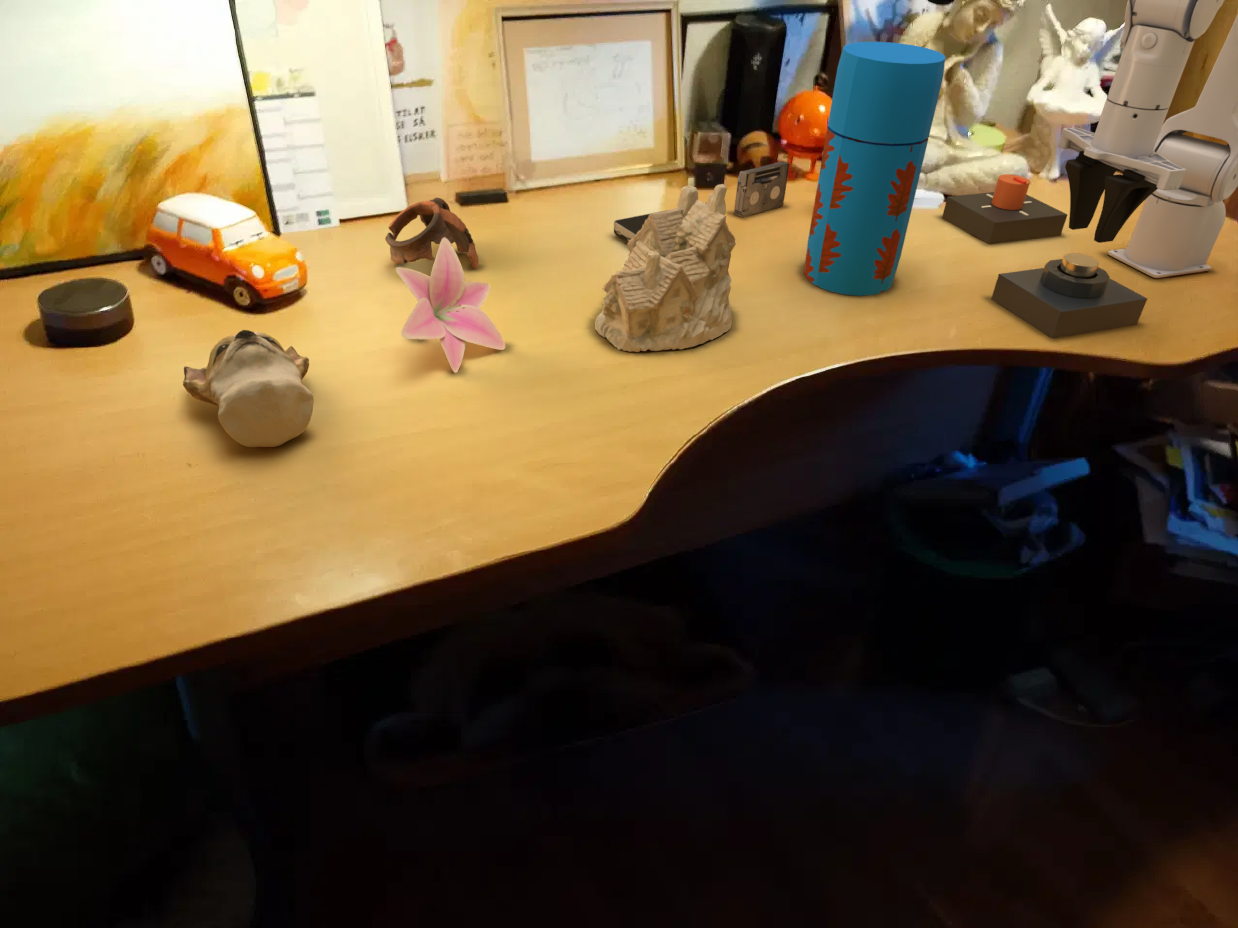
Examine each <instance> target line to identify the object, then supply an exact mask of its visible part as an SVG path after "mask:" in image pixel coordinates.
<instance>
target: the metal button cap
mask: <svg viewBox="0 0 1238 928" xmlns="http://www.w3.org/2000/svg"><path fill="white" fill-rule="evenodd" d="M1062 259H1063V260H1062V263H1061V266H1060V269H1059V271H1060V272H1062V273H1063V274H1065V275H1067V276H1071V277H1074V278H1081V279H1092V278H1094V275H1095V272H1096V270H1097V267H1099V265H1100V262H1099V261H1098V259H1096V258H1094V257H1093V256H1091V255H1088V254H1084V253H1077V252H1070V253H1066V254H1064V255H1063V256H1062Z"/></svg>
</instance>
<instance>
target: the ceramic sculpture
mask: <svg viewBox="0 0 1238 928" xmlns="http://www.w3.org/2000/svg"><path fill="white" fill-rule="evenodd" d="M309 368H310V358H309V357H308V356H302V355H300V354H299V353H298V352H297V351H296V349H295V347H293V345H290V346H289V347H287V349H284V347H283V346H282V344H281V343H280V341H278V340H277V339H276V338H275V337H273V336H272V335H269V334H267V333H265V332H260V331H252V330H249V329H242V330H240V331H238V332H237V333H236V334H232V335H228V336H226V337H222V338H221V339H220V340H219V341H217V343H216V344H215V345H214V346H213V347H212V349H211V350H210V354H209V357H208V362H207V365H206V366H205V367H202V368H194V367H190V366H184V367H183V375H184V379H183V380H182V386H183V388H184V389H185V391H186V392H187V393H188V394H189V395H191V397H193V398H194V399H195V400H199V401H201V402H204V403H208V404H211V405H213V406H216V407H218V412H217V419H218V422H219V424H220V425H221V426H222V428H223V430H224V431H225V432H226V433H227V435H228V436H230V438H231V439H233V440H234V441H235V442H236V443H238V444H240V445H241V446H244V447H247V448H258V447H260V448H275V447H279V446H282V445H283V444H285V443H287V442H289V441H290V440H292V439H294V438H296V437H298V436H300V435H301V434H303V433H304V432H305V431H306V429H307V427H308V425H309V424H310V422H311V418H312V415H313V411H314V400H315V399H314V395H313V392H312V391H310V390H309V388H308V387H307V386H305V385H304V384H303V381H302V380H303V379H304V378H305V376H306V375H307V373H308V371H309Z"/></svg>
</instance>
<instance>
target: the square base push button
mask: <svg viewBox="0 0 1238 928" xmlns="http://www.w3.org/2000/svg"><path fill="white" fill-rule="evenodd" d="M1062 260H1063V258H1057V259H1051V260H1049V261H1047V262H1046V263H1045V264H1044V267H1040V268H1039V267H1038V268H1033V269H1024V270H1017V271H1010V272H1009V271H1008V272H1003V273H998V275H997V279H996V282H995V286H994V288H993V292H992V295H991V298H990V300H991V301H993V302H994V303H996V304H998V305H999V306H1000V307H1002V308H1004V309H1005V310H1007V311H1008V312H1010V313H1011V314H1013V315H1014V316H1016V317H1018V318H1020V319H1021V320H1022V321H1024V322H1026V324H1029V325H1030V326H1032V327H1033V328H1035V329H1037V330H1038V331H1039V332H1041V333H1043V334H1044V335H1046V336H1047V337H1049V338H1051V339H1057V338H1065V337H1069V336H1074V335H1075V336H1076V335H1082V334H1087V333H1095V332H1099V331H1100V332H1101V331H1106V330H1112V329H1118V328H1125V327H1131V326H1136V325H1138V323H1139V320H1140V319H1141V315H1142V313H1143V311H1144V309H1145V306H1146V304H1147V301H1148V297H1146V296H1144V295H1142V294H1140V293H1138V292H1137V291H1134V290H1133V289H1131V288H1129V287H1127V286H1125V285H1123V284H1121V283H1120V282H1118V281H1116V280H1113V279H1112V278H1111V276H1110V275H1109V274H1108V272H1107V271H1106V270H1105V269H1103V268H1101V267H1099V266H1098V267H1097V270H1096V272H1095V275H1094V278H1092V279H1081V278H1074V277H1071V276H1067V275H1065V274H1063V273H1062V272H1060V271H1059V269H1060V266H1061V263H1062Z"/></svg>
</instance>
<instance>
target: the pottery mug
mask: <svg viewBox="0 0 1238 928" xmlns="http://www.w3.org/2000/svg"><path fill="white" fill-rule="evenodd" d="M418 216H419V219H420V222H421V223H423V224H424V226H425V228H424V229H423V230H422V231H421V232H419V233H418V234H416V235H414V236H413V237H410V238H408V239H405V240H397V239H398V236H399V234H400V233H401V232H402V230H403V229H404V228H406V226H408V224H410V223H411V222H412V221H414V220H416V219H418ZM388 230H389V231H390V232H387V235H385V238H384V240H385V242H386V243H387V245H388V246H389V255H390V260H391V261H392V262H394V264H396V265H400V264H401V265H406V264H408V263H414V262H417V261H419V260H424V259H425V260H428V261H432V262H433V261H434V262H435V259H434V256H433V249H432V243H434V244H435V245H440V242H441V240H442V238H444V237H445V238H447V239H448V240H449V242H450V243H451V245H452V244H454V243H455V246H456V251H457V252H458V253H461V254H462V253H465V254H467V258H468V259H469V260H470V262H471V263H470V264H471V266H472V268H473V269H474V270H476V269H477V268H478V266H479V261H480V260H479V255H478V253H477V249H476V244H475V242H474V240H473V237H472V234H471V233H470V231H469V228H467V225H466V224H465V223H464V221H462V219H461V218H460V217H459V216H458V215H457V214H456V213H454V212H452V211H451V209H450V206H449V204H448V203H447V202H446V201H445V200H444V199H442V198H441V197H433V199H430V200H422V201H418V202H415V203H413V204H411V205H409V206H407V207H406V208H405V209H403V210H401V211H400V212H399V213H398V214H397V215H396V216H395V217H394V218H393V219H392V220H391V222H390V223H389V226H388Z"/></svg>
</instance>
